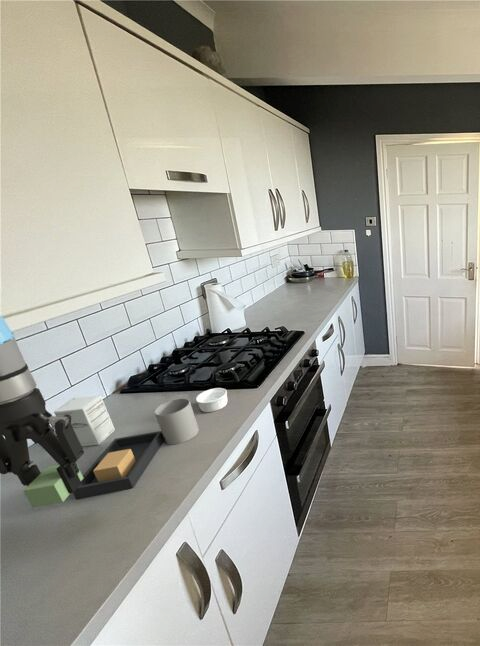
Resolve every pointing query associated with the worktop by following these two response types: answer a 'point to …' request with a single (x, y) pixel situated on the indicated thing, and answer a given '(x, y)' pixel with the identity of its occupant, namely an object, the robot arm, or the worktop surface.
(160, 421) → the cup
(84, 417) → the white packaging box
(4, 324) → the robot arm
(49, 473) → the pad
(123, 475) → the light orange rectangular block
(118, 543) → the worktop surface
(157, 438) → the tray
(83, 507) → the worktop surface
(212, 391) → the ramekin
